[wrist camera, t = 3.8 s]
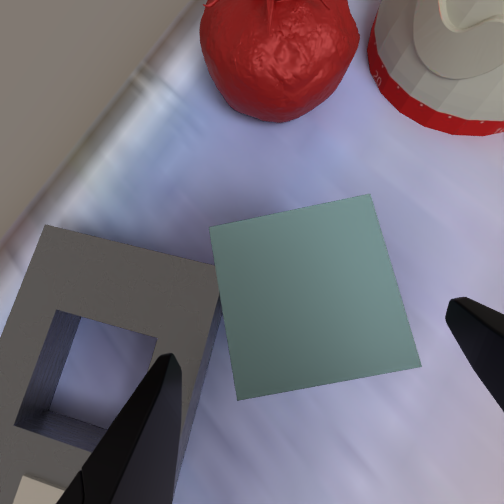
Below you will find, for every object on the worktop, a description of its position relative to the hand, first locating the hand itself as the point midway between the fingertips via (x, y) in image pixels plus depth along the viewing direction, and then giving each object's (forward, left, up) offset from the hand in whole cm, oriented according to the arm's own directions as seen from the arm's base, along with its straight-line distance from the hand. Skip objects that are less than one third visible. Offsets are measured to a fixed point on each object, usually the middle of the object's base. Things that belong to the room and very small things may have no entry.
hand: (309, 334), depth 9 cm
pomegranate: (+5, -17, -9) cm, 20 cm away
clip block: (+1, -1, -9) cm, 9 cm away
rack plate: (+11, +6, -9) cm, 15 cm away
